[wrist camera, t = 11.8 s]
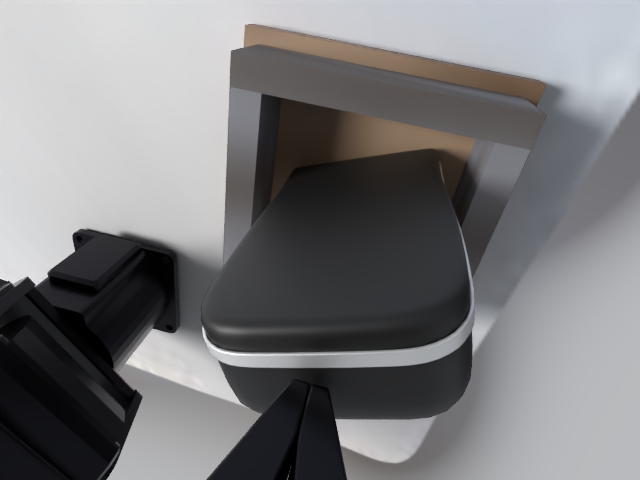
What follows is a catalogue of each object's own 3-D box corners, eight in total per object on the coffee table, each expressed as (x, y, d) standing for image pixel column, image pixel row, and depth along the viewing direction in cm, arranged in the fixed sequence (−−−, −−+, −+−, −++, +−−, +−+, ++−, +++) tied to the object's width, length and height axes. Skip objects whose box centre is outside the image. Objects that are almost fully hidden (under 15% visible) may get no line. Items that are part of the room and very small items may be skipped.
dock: (443, 304, 22) (450, 358, 19) (238, 254, 23) (210, 297, 20) (538, 80, 16) (574, 100, 13) (253, 23, 17) (214, 28, 14)
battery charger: (306, 235, 21) (217, 440, 11) (288, 165, 19) (163, 334, 9) (447, 221, 19) (493, 453, 9) (442, 142, 17) (491, 324, 7)
